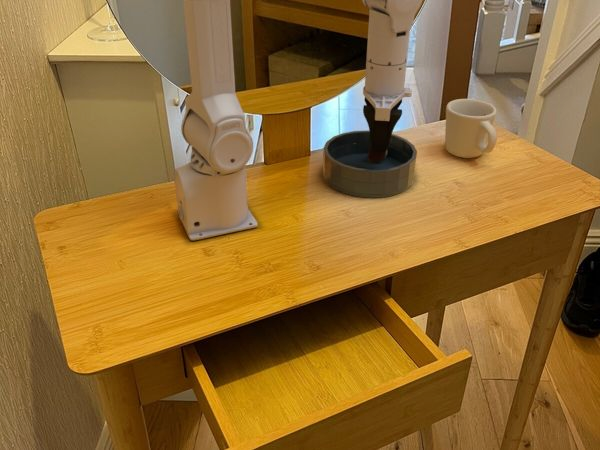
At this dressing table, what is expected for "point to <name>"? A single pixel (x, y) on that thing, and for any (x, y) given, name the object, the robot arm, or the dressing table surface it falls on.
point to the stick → (375, 155)
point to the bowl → (368, 165)
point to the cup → (470, 127)
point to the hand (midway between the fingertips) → (379, 146)
